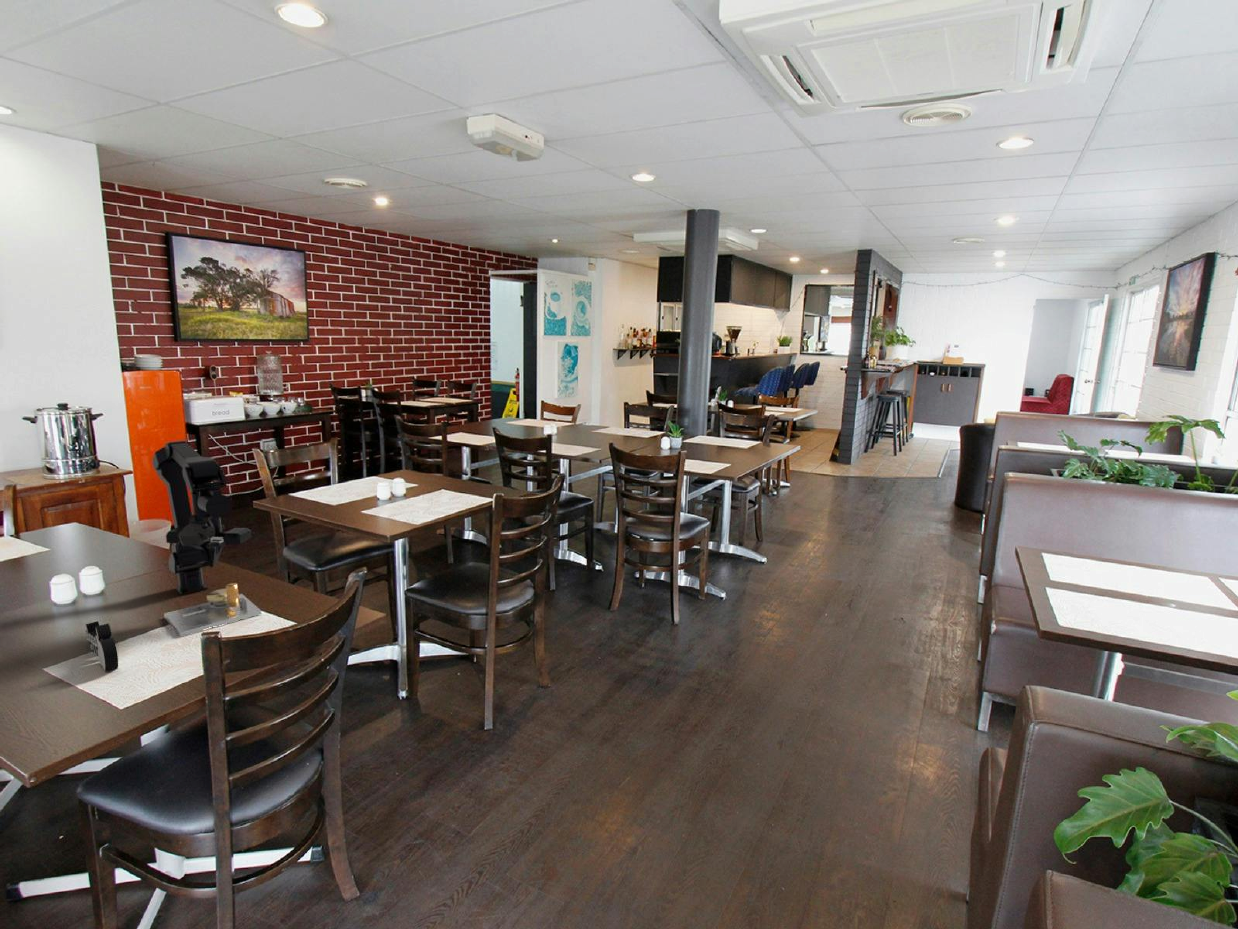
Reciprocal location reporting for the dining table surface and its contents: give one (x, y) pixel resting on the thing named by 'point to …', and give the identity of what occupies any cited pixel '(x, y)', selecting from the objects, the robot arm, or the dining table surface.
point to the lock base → (209, 615)
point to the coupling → (225, 595)
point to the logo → (103, 644)
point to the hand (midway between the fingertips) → (212, 566)
